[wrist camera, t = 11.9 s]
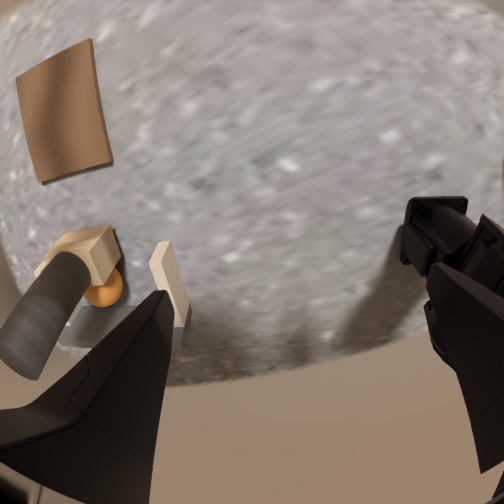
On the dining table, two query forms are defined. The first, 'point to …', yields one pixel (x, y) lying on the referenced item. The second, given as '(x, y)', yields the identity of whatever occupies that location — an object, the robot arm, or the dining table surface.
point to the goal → (106, 318)
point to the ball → (105, 291)
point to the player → (56, 297)
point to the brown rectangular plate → (64, 113)
